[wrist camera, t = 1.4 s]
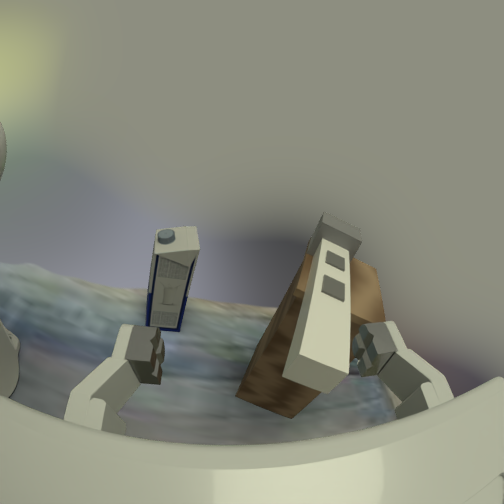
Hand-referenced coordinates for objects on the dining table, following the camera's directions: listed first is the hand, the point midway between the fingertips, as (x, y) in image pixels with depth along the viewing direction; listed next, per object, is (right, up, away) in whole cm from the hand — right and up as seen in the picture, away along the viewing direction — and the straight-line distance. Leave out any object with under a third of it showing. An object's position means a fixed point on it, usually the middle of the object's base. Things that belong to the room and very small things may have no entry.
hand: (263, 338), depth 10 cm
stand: (+4, -21, +38) cm, 43 cm away
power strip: (+7, -1, +20) cm, 21 cm away
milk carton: (-19, -10, +42) cm, 47 cm away
